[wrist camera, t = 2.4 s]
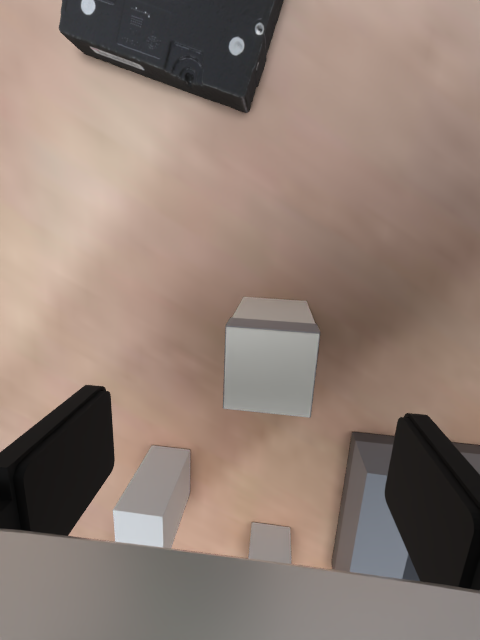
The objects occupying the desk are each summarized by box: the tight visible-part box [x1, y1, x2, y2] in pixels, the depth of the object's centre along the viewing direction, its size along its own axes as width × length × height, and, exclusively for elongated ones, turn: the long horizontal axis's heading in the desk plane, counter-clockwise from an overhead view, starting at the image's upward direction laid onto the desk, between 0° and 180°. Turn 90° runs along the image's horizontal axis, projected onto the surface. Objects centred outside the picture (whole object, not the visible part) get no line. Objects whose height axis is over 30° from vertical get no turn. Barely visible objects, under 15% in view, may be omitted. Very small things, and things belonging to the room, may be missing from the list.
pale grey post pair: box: [113, 445, 292, 564], centre depth 23 cm, size 11×10×6 cm
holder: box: [332, 432, 480, 581], centre depth 21 cm, size 12×12×4 cm
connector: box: [223, 297, 320, 417], centre depth 18 cm, size 4×4×7 cm
